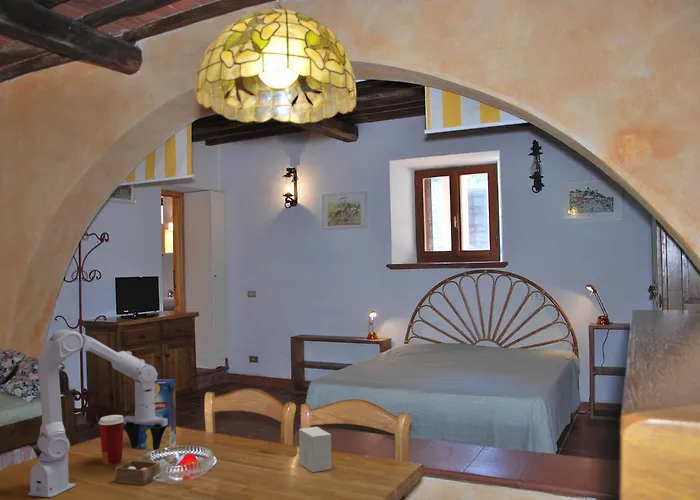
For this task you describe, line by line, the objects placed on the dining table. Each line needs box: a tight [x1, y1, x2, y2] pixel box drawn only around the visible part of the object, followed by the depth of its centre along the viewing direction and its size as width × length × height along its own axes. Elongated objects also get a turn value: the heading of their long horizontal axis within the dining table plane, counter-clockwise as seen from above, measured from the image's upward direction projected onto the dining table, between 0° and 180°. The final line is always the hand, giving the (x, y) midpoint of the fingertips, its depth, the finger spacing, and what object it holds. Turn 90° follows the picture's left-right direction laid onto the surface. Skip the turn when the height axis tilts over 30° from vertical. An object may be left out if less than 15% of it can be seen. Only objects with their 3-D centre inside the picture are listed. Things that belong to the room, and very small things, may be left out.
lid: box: [140, 454, 152, 462], centre depth 190 cm, size 8×11×4 cm
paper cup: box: [97, 414, 124, 466], centre depth 196 cm, size 8×8×14 cm
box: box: [114, 460, 161, 486], centre depth 180 cm, size 7×10×4 cm
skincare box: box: [298, 426, 333, 473], centre depth 187 cm, size 10×6×10 cm, turn 27°
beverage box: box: [137, 378, 178, 451], centre depth 212 cm, size 7×11×22 cm, turn 87°
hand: (145, 448), depth 190 cm, fingers open, 7 cm apart
